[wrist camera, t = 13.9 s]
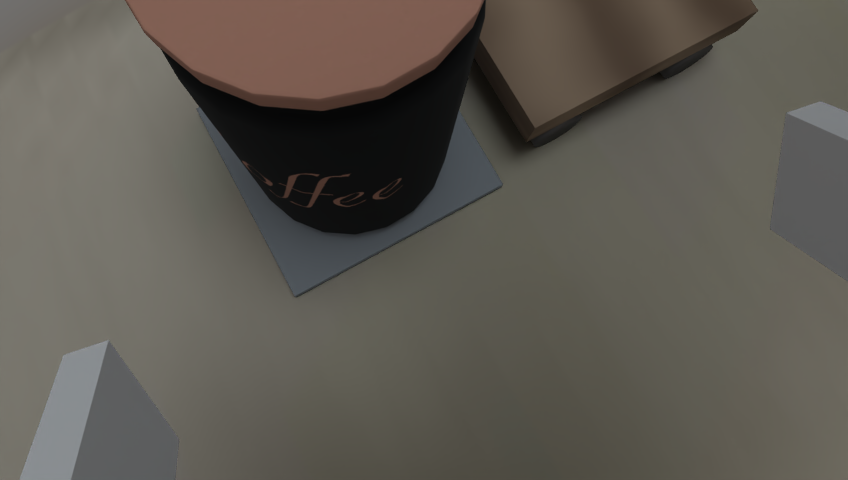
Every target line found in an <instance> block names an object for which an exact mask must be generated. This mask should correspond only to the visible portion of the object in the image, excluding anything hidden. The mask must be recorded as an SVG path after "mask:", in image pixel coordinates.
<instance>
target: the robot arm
mask: <svg viewBox="0 0 848 480" xmlns="http://www.w3.org/2000/svg"><path fill="white" fill-rule="evenodd" d="M770 229H771V230H772V231H774V232H775V233H777V234H778V235H780V236H781V237H783V238H784V239H786V240H787V241H789V242H790V243H792V244H793V245H795V246H796V247H798V248H799V249H800V250H802V251H803V252H805V253H806V254H808V255H809V256H811V257H812V258H814V259H815V260H817V261H818V262H820V263H821V264H823V265H824V266H826V267H827V268H829V269H830V270H832V271H833V272H835V273H836V274H838V275H839V276H840V277H842V278H843V279H845V280H846V281H848V112H847V111H844V110H842V109H839V108H837V107H834V106H832V105H829V104H827V103H824V102H822V101H820V102H817V103H814V104H811V105H808V106H805V107H802V108H799V109H796V110H793V111H790V112H787V113H786V117H785V124H784V131H783V138H782V145H781V152H780V159H779V167H778V174H777V181H776V188H775V195H774V202H773V210H772V217H771V224H770ZM178 447H179V438H178V437H177V435H176V434H175V432H174V431H173V430H172V428H171V427H170V425H169V424H168V423H167V421H166V420H165V418H164V417H163V415H162V414H161V413H160V411H159V410H158V408H157V407H156V406H155V404H154V403H153V401H152V400H151V399H150V397H149V396H148V394H147V393H146V392H145V390H144V389H143V387H142V386H141V385H140V383H139V382H138V380H137V379H136V378H135V376H134V375H133V373H132V372H131V371H130V369H129V368H128V366H127V365H126V364H125V362H124V361H123V359H122V358H121V357H120V355H119V354H118V352H117V351H116V350H115V348H114V347H113V345H112V344H111V343H110V341H109V340H107V341H104V342H101V343H98V344H95V345H92V346H89V347H86V348H83V349H80V350H77V351H74V352H71V353H68V354H65V355H63V358H62V361H61V364H60V367H59V370H58V372H57V375H56V378H55V381H54V384H53V387H52V389H51V392H50V395H49V398H48V401H47V404H46V406H45V409H44V412H43V415H42V418H41V421H40V423H39V426H38V429H37V432H36V435H35V438H34V440H33V443H32V446H31V449H30V452H29V455H28V457H27V460H26V463H25V466H24V469H23V472H22V474H21V477H20V480H175V477H176V467H177V457H178Z"/></svg>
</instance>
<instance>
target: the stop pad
mask: <svg viewBox="0 0 848 480" xmlns="http://www.w3.org/2000/svg"><path fill="white" fill-rule="evenodd" d="M197 111H198V113H199V115H200V117H201V119H202V121H203V122H204V124H205V126H206V128H207V130H208V132H209V134H210V136H211V138H212V140H213V142H214V143H215V145H216V147H217V149H218V151H219V153H220V155H221V157H222V159H223V161H224V163H225V164H226V166H227V168H228V170H229V172H230V174H231V176H232V178H233V180H234V182H235V183H236V185H237V187H238V189H239V191H240V193H241V195H242V197H243V199H244V201H245V203H246V204H247V206H248V208H249V210H250V212H251V214H252V216H253V218H254V220H255V222H256V224H257V225H258V227H259V229H260V231H261V233H262V235H263V237H264V239H265V241H266V243H267V244H268V246H269V248H270V250H271V252H272V254H273V256H274V258H275V260H276V262H277V264H278V265H279V267H280V269H281V271H282V273H283V275H284V277H285V279H286V281H287V283H288V285H289V286H290V288H291V290H292V292H293V294H294V296H295V297H298V296H300V295H302V294H304V293H305V292H307V291H309V290H311V289H313V288H315V287H317V286H318V285H320V284H322V283H324V282H326V281H328V280H330V279H331V278H333V277H335V276H337V275H339V274H341V273H343V272H344V271H346V270H348V269H350V268H352V267H354V266H356V265H357V264H359V263H361V262H363V261H365V260H367V259H369V258H370V257H372V256H374V255H376V254H378V253H380V252H382V251H383V250H385V249H387V248H389V247H391V246H393V245H395V244H396V243H398V242H400V241H402V240H404V239H406V238H408V237H409V236H411V235H413V234H415V233H417V232H419V231H421V230H423V229H424V228H426V227H428V226H430V225H432V224H434V223H436V222H437V221H439V220H441V219H443V218H445V217H447V216H449V215H450V214H452V213H454V212H456V211H458V210H460V209H462V208H463V207H465V206H467V205H469V204H471V203H473V202H475V201H476V200H478V199H480V198H482V197H484V196H486V195H488V194H489V193H491V192H493V191H495V190H497V189H499V188H501V187H502V185H503V183H502V182H501V180H500V178H499V177H498V175H497V173H496V172H495V170H494V168H493V167H492V165H491V163H490V162H489V160H488V158H487V157H486V155H485V153H484V151H483V150H482V148H481V146H480V145H479V143H478V141H477V140H476V138H475V136H474V135H473V133H472V131H471V130H470V128H469V126H468V125H467V123H466V121H465V120H464V118H463V116H462V115H461V113H460V111H459V112H458V115H457V119H456V122H455V126H454V130H453V133H452V137H451V140H450V144H449V147H448V151H447V154H446V158H445V161H444V164H443V166H442V169H441V171H440V173H439V176H438V178H437V181H436V183H435V186H434V188H433V189H432V190H431V191H430V193H429V194H428V195H427V196H426V197H425V198H424V200H423V201H422V202H421V203H420V204H419V205H418V207H417V208H416V209H415V210H414V211H413V212H411V213H410V214H408V215H406V216H405V217H403V218H401V219H400V220H398V221H396V222H395V223H393V224H391V225H390V226H388V227H385V228H381V229H377V230H373V231H369V232H364V233H360V234H356V235H355V234H341V233H328V232H322V231H319V230H317V229H314V228H312V227H309V226H307V225H304V224H302V223H299V222H297V221H295V220H293V219H292V218H291V217H290V216H288V215H287V214H286V213H285V212H284V211H282V210H281V209H280V208H279V207H278V206H276V205H275V204H274V203H273V202H272V201H271V200H270V199H269V198H268V197H267V195H266V194H265V193H264V191H263V190H262V189H261V187H260V186H259V185H258V183H257V182H256V181H255V179H254V178H253V177H252V176H251V174H250V173H249V172H248V170H247V169H246V168H245V166H244V165H243V164H242V162H241V161H240V160H239V158H238V157H237V156H236V154H235V153H234V152H233V150H232V149H231V148H230V146H229V145H228V144H227V142H226V141H225V140H224V138H223V137H222V136H221V134H220V133H219V132H218V130H217V129H216V128H215V127H214V125H213V124H212V123H211V121H210V120H209V119H208V117H207V116H206V115H205V113H204V112H203V111H202V109H201V108H200V107H199V108H197Z"/></svg>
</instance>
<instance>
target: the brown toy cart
mask: <svg viewBox="0 0 848 480" xmlns="http://www.w3.org/2000/svg"><path fill="white" fill-rule="evenodd" d="M757 11H758V9H757V8H756V6H755V5H754V4H753V2H752V1H751V0H486V8H485V19H484V23H483V27H482V30H481V34H480V37H479V41H478V44H477V48H476V51H475V55H474V58H475V60H476V61H477V63H478V65H479V66H480V68H481V70H482V71H483V73H484V74H485V76H486V78H487V79H488V81H489V83H490V84H491V86H492V88H493V89H494V91H495V92H496V94H497V96H498V97H499V99H500V101H501V102H502V104H503V105H504V107H505V109H506V110H507V112H508V114H509V115H510V117H511V119H512V120H513V122H514V123H515V125H516V127H517V128H518V130H519V132H520V133H521V135H522V137H523V138H524V140H525V141H526V142H528V141H530V140H531V141H532V143H533V145H534V146H535V147H539V146H542V145H544V144H546V143H548V142H550V141H552V140H554V139H556V138H557V137H559V136H561V135H562V134H564V133H565V132H567V131H568V130H569V129H571V128H572V127H573V126H574V125H576V124H577V123H578V122H579V121H580V120H581V118H582V116H581V115H580V114H581V113H583V112H584V111H586V110H588V109H590V108H592V107H594V106H596V105H598V104H600V103H601V102H603V101H605V100H607V99H609V98H611V97H613V96H615V95H617V94H618V93H620V92H622V91H624V90H626V89H628V88H630V87H632V86H634V85H635V84H637V83H639V82H641V81H643V80H645V79H647V78H649V77H651V76H652V75H654V74H656V73H658V72H660V73H661V75H662V76H663V78H664V79H667V78H670V77H672V76H674V75H676V74H678V73H680V72H681V71H683V70H685V69H686V68H688V67H689V66H691V65H692V64H694V63H695V62H697V61H698V60H699V59H701V58H702V57H703V56H704V55H706V54H707V53H708V52H709V51H710V50H711V49H712V47H713V46H712V44H713V43H715V42H717V41H719V40H720V39H722V38H724V37H726V36H728V35H730V34H732V33H734V32H736V31H737V30H738V29H739V28H740V27H741V26H743V25H744V24H745V23H746V22H747V21H748V20H749V19H750V18H751V17H752V16H753V15H754V14H755V13H756V12H757Z"/></svg>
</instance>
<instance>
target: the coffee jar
mask: <svg viewBox="0 0 848 480" xmlns="http://www.w3.org/2000/svg"><path fill="white" fill-rule="evenodd" d="M125 1H126V3H127V4H128V6H129V8H130V9H131V11H132V13H133V14H134V16H135V18H136V19H137V21H138V23H139V24H140V26H141V28H142V29H143V31H144V33H145V34H146V35H147V36H148V37H149V38H150V39H151V40H152V41H153V42H154V43H155V44H156V45H157V46H158V47H159V48H160V49H161V50H162V52H163V54H164V55H165V57H166V59H167V60H168V62H169V64H170V65H171V67H172V69H173V70H174V72H175V74H176V75H177V77H178V79H179V80H180V82H181V83H182V84H183V85H184V87H185V88H186V89H187V91H188V92H189V93H190V95H191V96H192V97H193V99H194V100H195V101H196V103H197V104H198V105H199V107H200V108H201V109H202V111H203V112H204V113H205V115H206V116H207V117H208V119H209V120H210V121H211V123H212V124H213V125H214V127H215V128H216V129H217V130H218V132H219V133H220V134H221V136H222V137H223V138H224V140H225V141H226V142H227V144H228V145H229V146H230V148H231V149H232V150H233V152H234V153H235V154H236V156H237V157H238V158H239V160H240V161H241V162H242V164H243V165H244V166H245V168H246V169H247V170H248V172H249V173H250V174H251V176H252V177H253V178H254V179H255V181H256V182H257V183H258V185H259V186H260V187H261V189H262V190H263V191H264V193H265V194H266V195H267V197H268V198H269V199H270V200H271V201H272V202H273V203H274V204H275V205H276V206H278V207H279V208H280V209H281V210H282V211H284V212H285V213H286V214H287V215H288V216H290V217H291V218H292V219H293V220H295V221H297V222H299V223H302V224H304V225H307V226H309V227H312V228H314V229H317V230H319V231H322V232H328V233H341V234H355V235H356V234H360V233H364V232H369V231H373V230H377V229H381V228H385V227H388V226H390V225H391V224H393V223H395V222H396V221H398V220H400V219H401V218H403V217H405V216H406V215H408V214H410V213H411V212H413V211H414V210H415V209H416V208H417V207H418V205H419V204H420V203H421V202H422V201H423V200H424V198H425V197H426V196H427V195H428V194H429V193H430V191H431V190H432V189H433V188H434V186H435V183H436V181H437V178H438V176H439V173H440V171H441V169H442V166H443V164H444V161H445V158H446V154H447V151H448V147H449V144H450V140H451V137H452V133H453V130H454V126H455V122H456V119H457V115H458V112H459V108H460V105H461V101H462V98H463V94H464V91H465V87H466V83H467V80H468V76H469V73H470V69H471V66H472V62H473V59H474V55H475V51H476V48H477V44H478V41H479V37H480V34H481V30H482V27H483V23H484V19H485V8H486V0H125Z"/></svg>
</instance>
